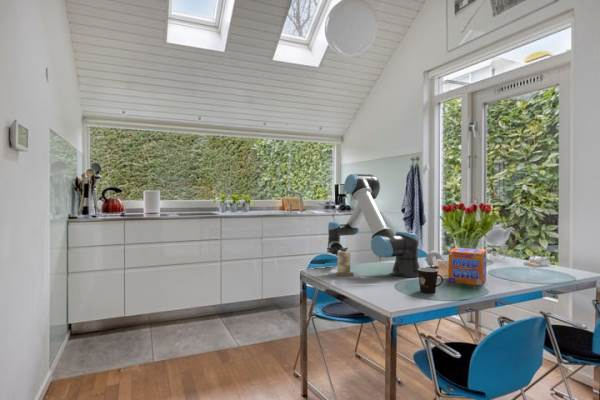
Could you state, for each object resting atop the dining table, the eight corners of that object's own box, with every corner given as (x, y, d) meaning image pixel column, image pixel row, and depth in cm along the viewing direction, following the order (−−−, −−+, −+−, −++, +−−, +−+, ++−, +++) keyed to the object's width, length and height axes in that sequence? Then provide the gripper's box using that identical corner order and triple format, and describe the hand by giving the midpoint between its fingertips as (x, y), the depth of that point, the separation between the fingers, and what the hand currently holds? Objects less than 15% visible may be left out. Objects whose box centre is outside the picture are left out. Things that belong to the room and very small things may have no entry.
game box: (482, 286, 174) (482, 253, 174) (448, 281, 182) (448, 251, 182) (486, 279, 187) (486, 249, 187) (454, 276, 195) (454, 247, 195)
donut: (440, 266, 220) (440, 250, 220) (443, 267, 217) (443, 250, 217) (424, 267, 219) (425, 250, 218) (427, 268, 215) (428, 251, 215)
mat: (356, 273, 201) (356, 269, 201) (362, 280, 185) (362, 275, 185) (327, 273, 200) (327, 269, 200) (331, 280, 184) (331, 275, 184)
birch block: (348, 273, 199) (348, 251, 198) (350, 275, 193) (350, 253, 192) (337, 273, 199) (337, 251, 198) (338, 275, 193) (339, 253, 192)
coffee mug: (414, 289, 168) (414, 267, 167) (432, 289, 168) (432, 267, 168) (425, 296, 156) (425, 273, 156) (444, 296, 157) (444, 273, 157)
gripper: (346, 253, 228) (352, 260, 205) (325, 253, 228) (329, 260, 204) (346, 242, 228) (352, 247, 205) (325, 242, 228) (329, 247, 204)
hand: (341, 254), depth 204 cm, fingers closed
